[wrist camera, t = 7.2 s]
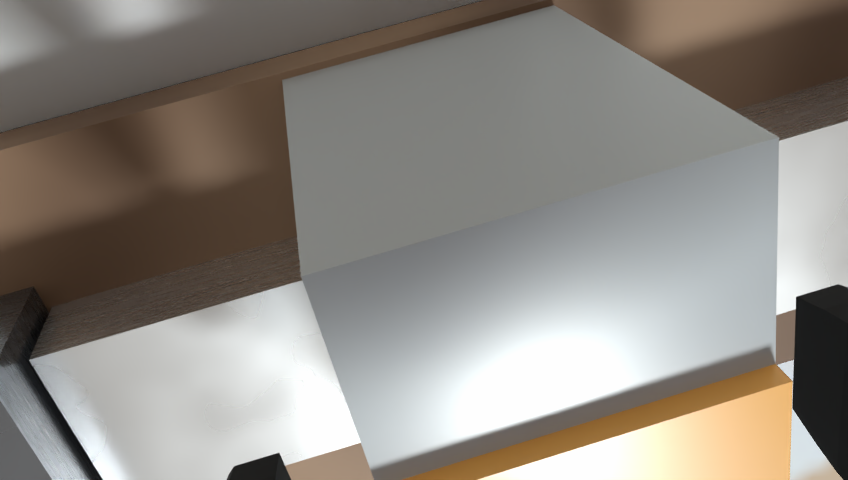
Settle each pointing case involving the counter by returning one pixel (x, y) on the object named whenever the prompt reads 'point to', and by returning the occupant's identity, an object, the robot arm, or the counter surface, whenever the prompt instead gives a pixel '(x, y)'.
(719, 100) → the mounting plate
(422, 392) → the block
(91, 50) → the counter surface
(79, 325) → the din rail
